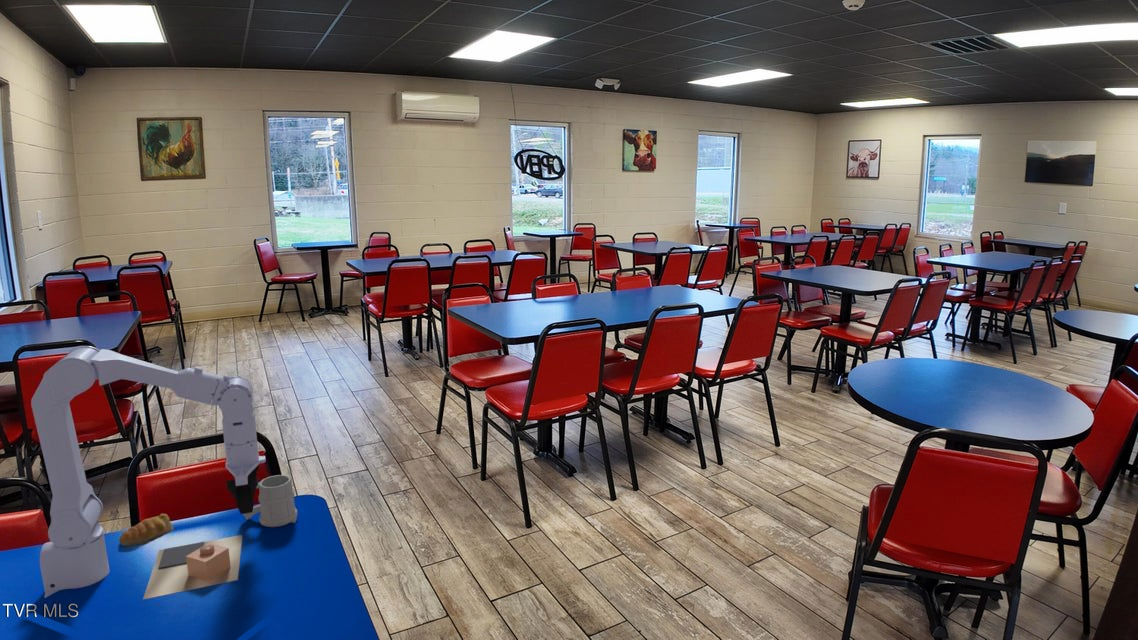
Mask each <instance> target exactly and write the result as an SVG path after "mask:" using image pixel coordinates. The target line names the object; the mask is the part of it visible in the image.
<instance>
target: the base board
mask: <svg viewBox="0 0 1138 640" xmlns="http://www.w3.org/2000/svg"><path fill="white" fill-rule="evenodd" d="M203 542H204V546H205V545H206V544H208V543H212V544H215V545H219V546H223V547H226V548H229V557H230V565H231V567H230V568H229V569H227V570H225V571H224V572H222V573H221V574H219V575H218V576H216V577H214V578H213V579H211V580H210V581H208V582H207V581H204V580H201V579H198V578H195V577H191V576H188V568H187V564H183V565H178V566H172V567H167V568H162V569H158V567H159V564H160V561H161V558H162V554H163V551H164V549H165V548H164V549H159V550H158V552H157V554H156V555H157V556H156V558H155V561H154V565H153V568H152V571H151V574H150V578H149V579H148V583H147V587H146V589H145V592H144V594H143V598H142V600H147V599H153V598H157V597H162V596H167V595H172V594H177V593H182V592H185V591H190V590H191V591H192V590H195V589H201V588H206V587H210V586H215V585H221V584H225V583H229V582H235V581H239V572H240V571H239V570H240V563H241V562H240V561H241V553H242V543H243V534H240V535H234V536H229V537H222V538H218V539H217V538H216V539H213V540H211V539H210V540H207V541H203Z"/></svg>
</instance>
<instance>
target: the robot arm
mask: <svg viewBox="0 0 1138 640" xmlns="http://www.w3.org/2000/svg"><path fill="white" fill-rule="evenodd" d="M96 380H98V385H99V386H105V385H107V384H110V383H113V382H117V381H120V380H125V381H126V380H127V381H132V382H136V383H141V384H146V385H151V386H156V387H161V388H166V389H171V390H172V392H173V393H174V395H175V396H176V397H177V398H179V399H180V398H181V399H184V400H189V401H192V402H196V403H201V404H206V405H209V406H218V407H219V410H220V411H221V412H222V413H221V414H222V419H221V424H222V433H223V443H224V451H225V458H226V459H225V460H226V461H225V468H226V470H227V471H229V473H230V474H232V476H233V477H234V479H230V480H226V481H225V482H226V483H225V486H226V489H227V491H229V493H230V494H231V495H232V497H233V499H234V501H235V504H236V506H237V509H238V511H239V513H240V514H241V515H243V514H246V513H251V512H252V511H253V507H254V503H255V493H256V490H257V488H256V487H257V485H258V482H260V477H257V472H258V469H259V468H260V467H259V466H260V465H261V464H264V463H266V460H267V459H266V455H259V447H258V437H257V436H258V435H257V425H256V417H255V414H254V407H253V406H254V405H253V393H254V389H253V385H252V383H251V381H249V380H247V379H246V378H245V377H242V376H240V375H234V376H231V375H229V374H224V376H223V375H219V374H216V373H212V372H207V371H204V367H201V366H198V365H196V366H195V367H194V368H192V367H186V368H184V369H183V368H182V370H175V369H172V368H168V367H164V366H161V365H159V364H155V363H151V362H148V361H144V360H141V359H139V358H135V357H130V356H128V355H125V354H121V353H119V352H116V351H115V350H114V351H113V350H111V349H105V348H102V349H99V348H97V347H94V346H91V345H81V346H78V347H75V348H73V349H72V350H71V351H69V352H68V353H67V354H65V356H63V357H61V358H60V359H59V360H58V361H57V362H56V363H54V365H52V366H51V367H50V368H49V369H48V370H47V371H45V372H44V374H43V377H42V379H41V382H40V383H39V385H38V386H37V388H36V390H35V393H34V394H33V396H32V398H31V402H30V404H31V405H30V406H31V410H32V414H33V417H34V423H35V426H36V430H37V434H38V438H39V443H40V447H41V452H42V456H43V459H44V460H43V461H44V465H45V469H46V473H47V476H48V481H49V485H50V490H51V494H52V497H51V503H50V511H49V515H50V525H49V527H48V531H47V537H48V538H49V541H48V542H45V543H43V545H42V547H41V550H40V554H39V566H40V567H39V568H40V572H41V578H42V584H43V588H44V589H43V590H44V595H43V597H44V599H46V598H48V597H50V596H51V595H53V594H54V593H56V592H59V591H62V590H67V589H68V590H69V589H79V588H85V587H88V586H91V585H93V584H96V583H99V582H100V581H102V580H103V579H104V578H105V577H107V576H108V575H109V574H110V565H109V564H110V563H109V559H108V552H107V546H106V541H105V540H106V539H105V534H104V528H103V526H102V525H101V524H100V522H99V519H100V518H101V515H102V514H103V512H104V505H103V503H102V501H101V499H100V497H99V498H98V497H97V496H96V494H95V492H94V488H93V486H92V485H91V484H89V482H87V476H86V473H85V468H84V465H83V460H82V454H81V450H80V445H79V441H78V437H77V432H76V429H75V427H76V426H75V422H74V419H73V413H72V410H71V405H70V402H71V401H72V400H73V399H74V398H75V397H77V396H78V395H80V394H82V393H85V392H86V391H87V390H88V389H90V388H91V387H92V386H93V385H94V383H95V382H96Z"/></svg>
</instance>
